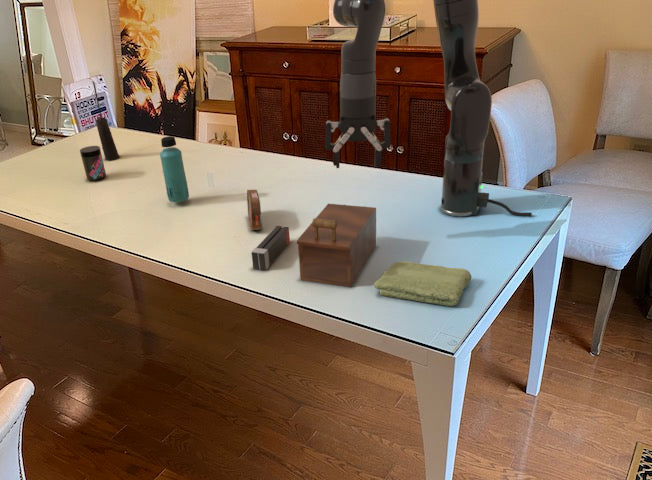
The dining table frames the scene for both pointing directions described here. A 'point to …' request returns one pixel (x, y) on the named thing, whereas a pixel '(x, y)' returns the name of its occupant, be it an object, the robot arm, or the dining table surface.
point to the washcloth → (424, 283)
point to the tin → (254, 209)
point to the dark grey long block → (270, 248)
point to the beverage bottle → (173, 171)
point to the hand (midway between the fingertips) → (357, 166)
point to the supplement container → (93, 163)
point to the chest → (338, 259)
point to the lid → (336, 226)
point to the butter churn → (105, 136)
